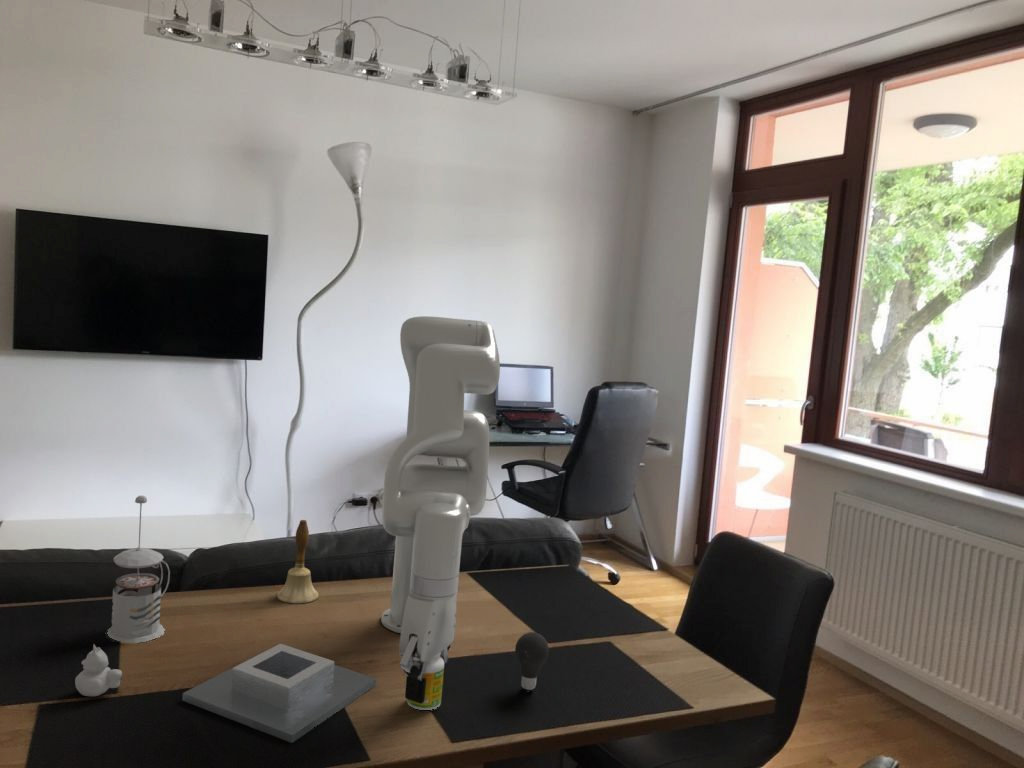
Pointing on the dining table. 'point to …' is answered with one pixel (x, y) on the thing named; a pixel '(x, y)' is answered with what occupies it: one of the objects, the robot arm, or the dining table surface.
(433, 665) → the supplement bottle
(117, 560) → the french press
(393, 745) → the dining table surface
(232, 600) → the dining table surface
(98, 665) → the rubber duck
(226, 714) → the collar plate
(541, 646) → the light bulb
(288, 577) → the hand bell
